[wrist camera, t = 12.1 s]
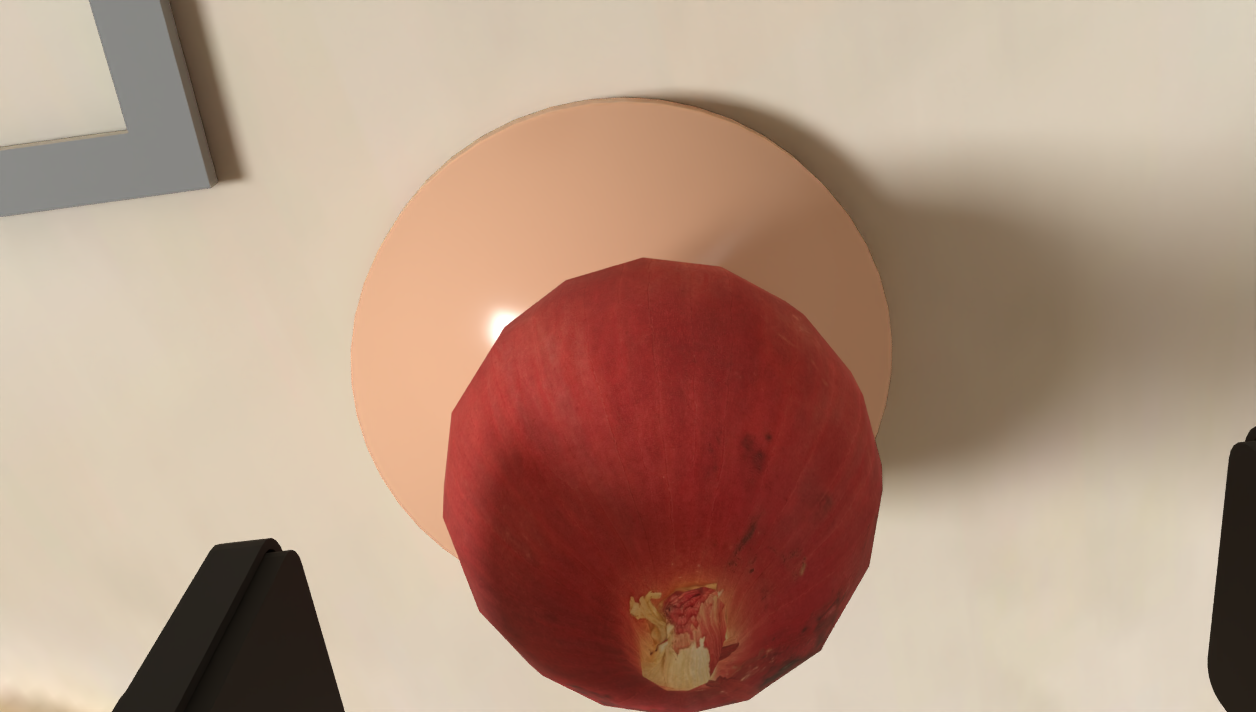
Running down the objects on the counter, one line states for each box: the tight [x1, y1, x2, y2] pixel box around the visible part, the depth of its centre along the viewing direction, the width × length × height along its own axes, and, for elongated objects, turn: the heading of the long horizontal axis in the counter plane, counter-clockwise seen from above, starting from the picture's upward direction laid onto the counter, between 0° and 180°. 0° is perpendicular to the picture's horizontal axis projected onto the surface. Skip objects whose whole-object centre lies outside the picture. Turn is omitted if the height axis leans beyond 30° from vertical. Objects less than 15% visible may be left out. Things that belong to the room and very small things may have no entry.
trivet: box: [351, 97, 892, 559], centre depth 19 cm, size 9×9×1 cm
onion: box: [443, 257, 882, 712], centre depth 15 cm, size 6×6×8 cm
